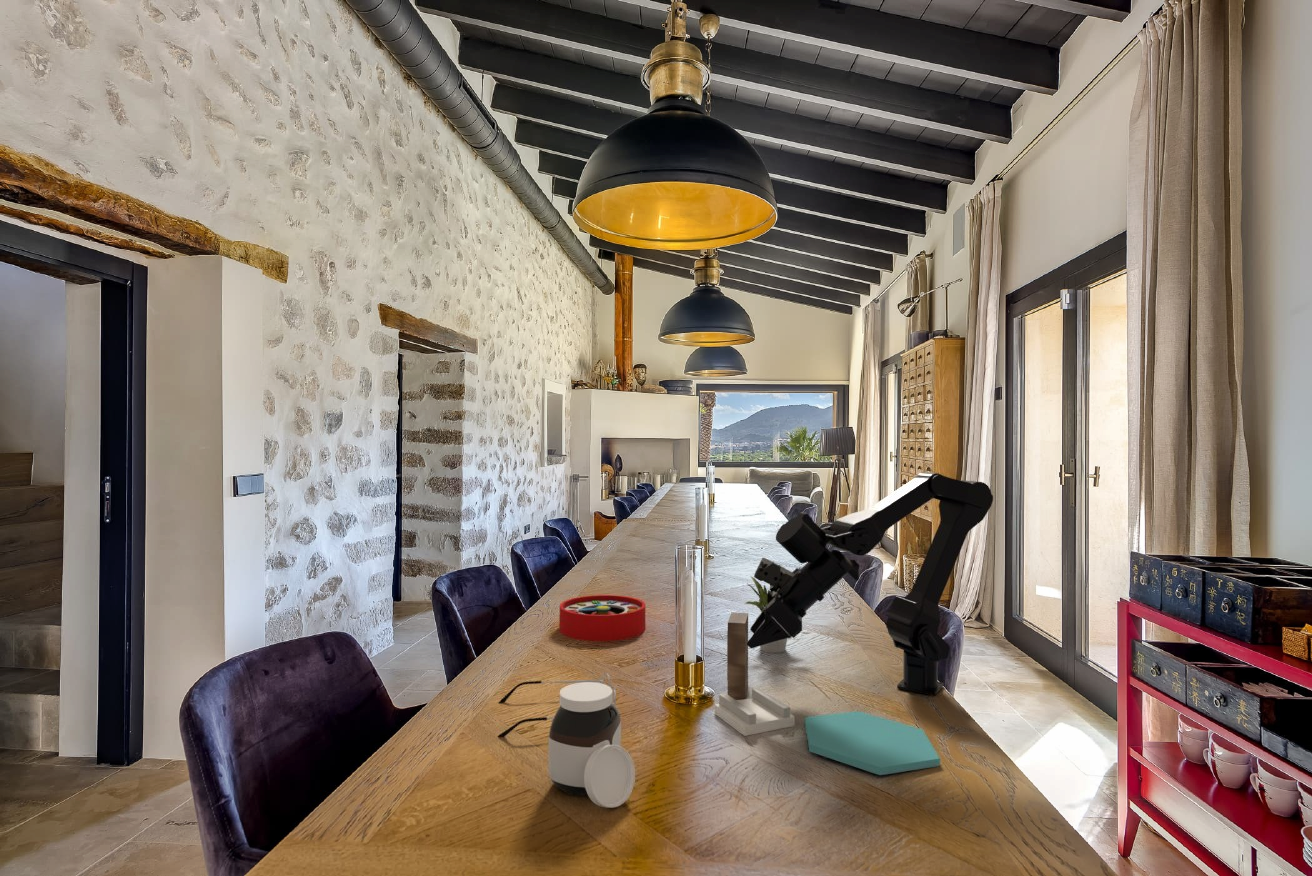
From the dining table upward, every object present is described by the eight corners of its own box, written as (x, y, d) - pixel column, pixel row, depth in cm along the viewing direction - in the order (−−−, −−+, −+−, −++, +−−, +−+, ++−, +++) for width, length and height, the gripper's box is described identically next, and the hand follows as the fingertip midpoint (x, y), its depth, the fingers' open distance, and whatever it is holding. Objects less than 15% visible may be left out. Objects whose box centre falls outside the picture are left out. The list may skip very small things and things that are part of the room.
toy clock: (656, 611, 152) (567, 618, 146) (656, 638, 152) (567, 645, 146) (632, 592, 171) (553, 597, 165) (632, 616, 171) (553, 622, 165)
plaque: (884, 720, 110) (776, 733, 103) (884, 708, 110) (776, 719, 103) (968, 768, 94) (847, 787, 87) (968, 753, 94) (847, 770, 87)
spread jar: (577, 759, 94) (577, 674, 94) (653, 774, 90) (654, 686, 90) (530, 802, 83) (531, 706, 83) (615, 822, 78) (616, 720, 78)
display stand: (762, 705, 113) (762, 687, 113) (794, 725, 105) (794, 706, 105) (714, 713, 110) (714, 695, 110) (744, 736, 101) (744, 715, 101)
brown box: (748, 685, 122) (748, 613, 122) (745, 700, 115) (745, 623, 116) (730, 684, 123) (730, 612, 123) (726, 698, 116) (726, 622, 116)
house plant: (817, 662, 135) (817, 580, 135) (747, 661, 135) (747, 579, 136) (803, 641, 149) (803, 567, 149) (739, 640, 150) (740, 566, 150)
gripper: (783, 536, 127) (723, 592, 129) (781, 552, 109) (711, 617, 111) (826, 580, 125) (764, 636, 127) (831, 604, 107) (760, 669, 109)
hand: (750, 638), depth 119 cm, fingers open, 9 cm apart
